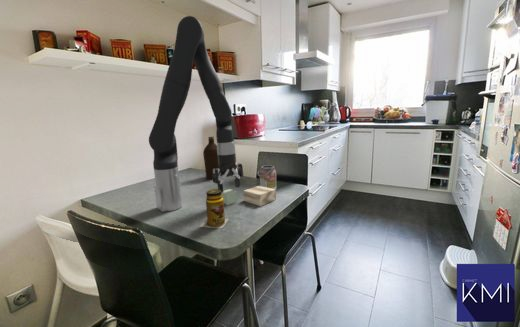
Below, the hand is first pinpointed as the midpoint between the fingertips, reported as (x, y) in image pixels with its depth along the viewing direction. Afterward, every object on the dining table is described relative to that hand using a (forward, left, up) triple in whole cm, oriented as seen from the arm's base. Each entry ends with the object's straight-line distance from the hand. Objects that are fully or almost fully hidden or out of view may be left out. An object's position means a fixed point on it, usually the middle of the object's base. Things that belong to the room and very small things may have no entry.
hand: (229, 189), depth 108 cm
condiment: (-17, -14, -6) cm, 22 cm away
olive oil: (+18, +44, -6) cm, 48 cm away
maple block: (+10, -8, -6) cm, 14 cm away
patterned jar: (+22, 0, -6) cm, 23 cm away
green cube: (-1, 0, -6) cm, 6 cm away
